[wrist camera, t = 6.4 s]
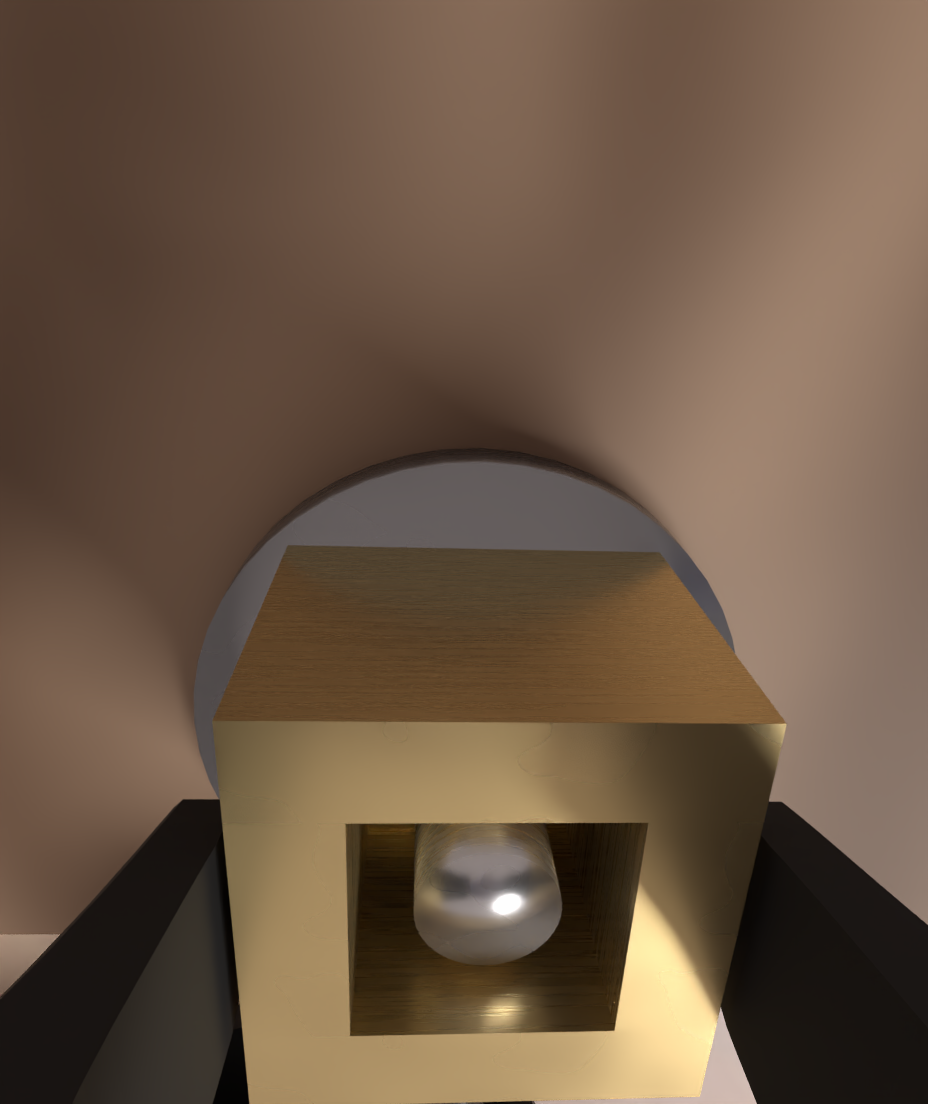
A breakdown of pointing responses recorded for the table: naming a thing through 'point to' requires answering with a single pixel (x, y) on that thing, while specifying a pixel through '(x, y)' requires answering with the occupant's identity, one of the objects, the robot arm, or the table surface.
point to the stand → (468, 523)
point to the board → (455, 350)
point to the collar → (486, 821)
